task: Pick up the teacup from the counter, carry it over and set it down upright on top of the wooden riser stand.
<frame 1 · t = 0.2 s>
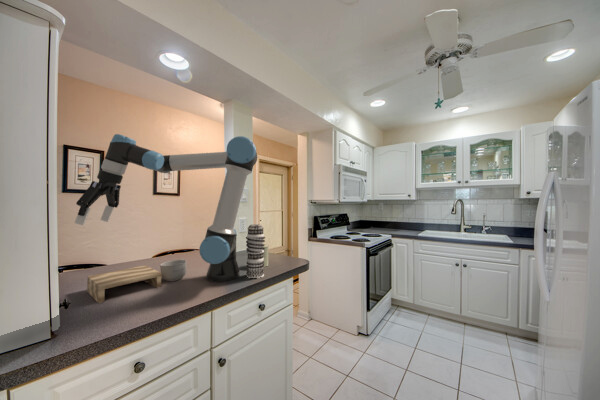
hand: (92, 222, 88), 28 cm above the counter, tool tilted 20°, fingers open, 13 cm apart
teacup: (175, 278, 105), on the counter
decorative candle: (255, 276, 109), on the counter
wooden riser stand: (125, 288, 91), on the counter
can: (260, 266, 127), on the counter
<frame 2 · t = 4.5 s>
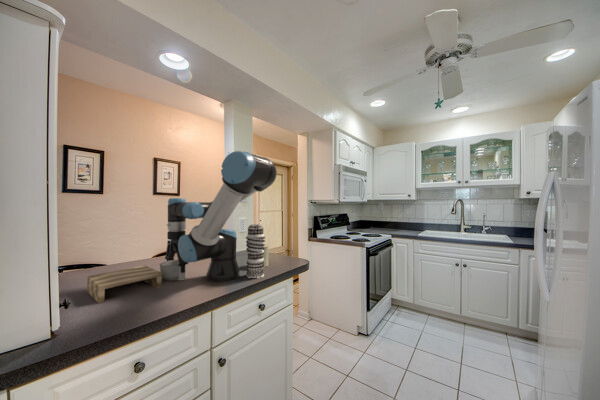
hand: (175, 277, 105), 0 cm above the counter, tool pointing down, fingers closed on teacup, 11 cm apart
teacup: (175, 278, 106), on the counter, touching gripper
everything else where it was.
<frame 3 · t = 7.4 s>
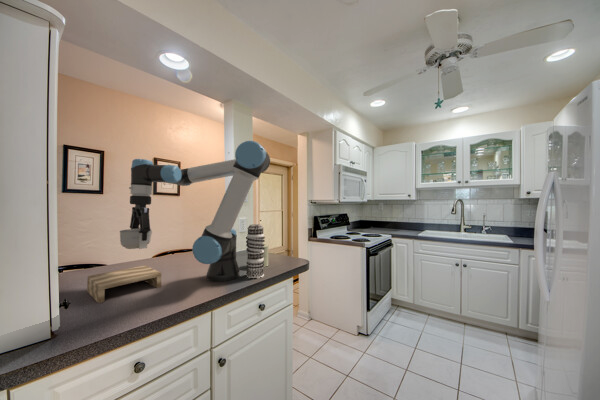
hand: (138, 246, 96), 17 cm above the counter, tool pointing down, fingers closed on teacup, 11 cm apart
teacup: (138, 247, 96), point 16 cm above the counter, touching gripper
everything else where it was.
when the fingers open (8 cm above the counter, at t = 10.3 s): teacup drops 1 cm, resting on wooden riser stand.
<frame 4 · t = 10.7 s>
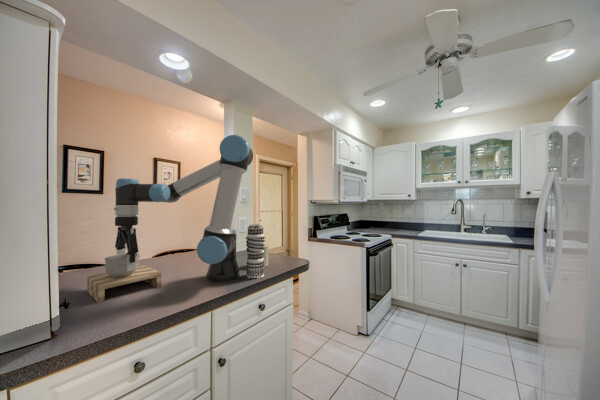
hand: (125, 267, 92), 9 cm above the counter, tool pointing down, fingers open, 13 cm apart
teacup: (125, 274, 92), point 6 cm above the counter, touching wooden riser stand
everything else where it was.
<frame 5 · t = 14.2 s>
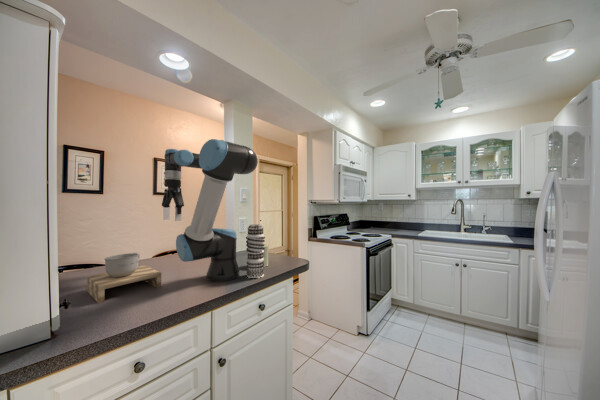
hand: (172, 220, 116), 27 cm above the counter, tool pointing down, fingers open, 13 cm apart
nothing on the counter moved.
at the end: teacup inside the target area on the wooden riser stand (0.5 cm from its centre), point 5.8 cm above the wooden riser stand's base; teacup tilted 0°; the gripper is holding nothing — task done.
